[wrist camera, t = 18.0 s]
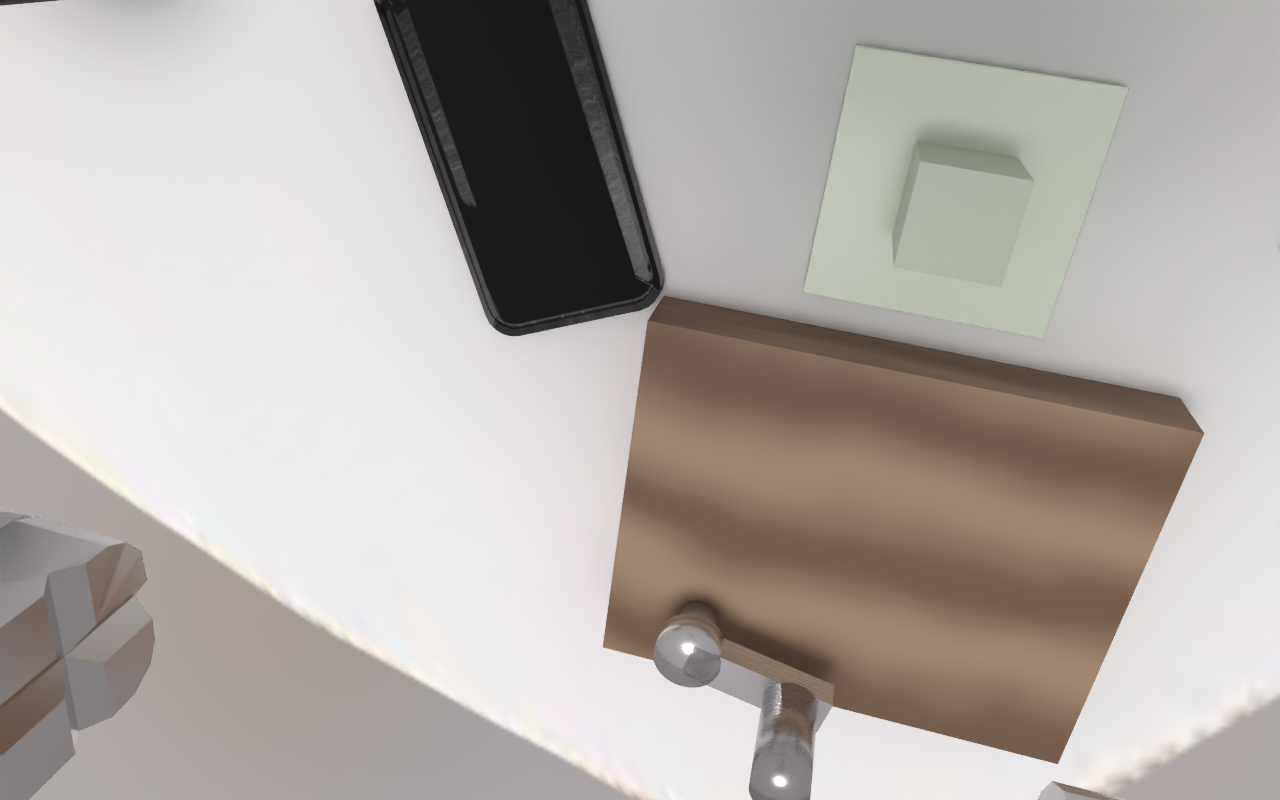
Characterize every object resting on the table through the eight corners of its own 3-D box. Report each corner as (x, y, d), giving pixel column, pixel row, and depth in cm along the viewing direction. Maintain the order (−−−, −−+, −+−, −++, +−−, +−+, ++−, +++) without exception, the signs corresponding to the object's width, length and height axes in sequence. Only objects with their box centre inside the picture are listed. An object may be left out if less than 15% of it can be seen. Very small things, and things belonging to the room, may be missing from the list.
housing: (663, 296, 39) (639, 333, 35) (1179, 398, 36) (1216, 451, 32) (619, 607, 46) (594, 667, 42) (1046, 714, 43) (1063, 789, 39)
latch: (650, 651, 40) (617, 752, 35) (672, 603, 39) (640, 700, 34) (812, 721, 40) (802, 833, 35) (840, 674, 39) (834, 784, 33)
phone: (552, -100, 33) (666, 304, 38) (561, -98, 34) (672, 296, 39) (360, -29, 35) (492, 341, 40) (374, -29, 36) (501, 332, 41)
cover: (856, 43, 34) (852, 55, 29) (1120, 84, 32) (1160, 104, 28) (804, 283, 38) (794, 327, 33) (1038, 328, 36) (1061, 381, 32)
